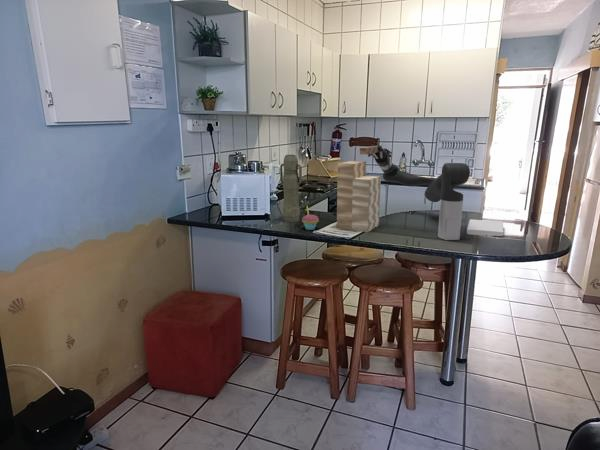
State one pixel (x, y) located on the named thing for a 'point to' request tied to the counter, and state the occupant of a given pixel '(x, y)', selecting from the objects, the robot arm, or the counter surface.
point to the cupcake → (310, 221)
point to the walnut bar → (369, 150)
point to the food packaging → (485, 228)
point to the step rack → (357, 197)
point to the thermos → (291, 188)
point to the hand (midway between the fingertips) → (375, 146)
